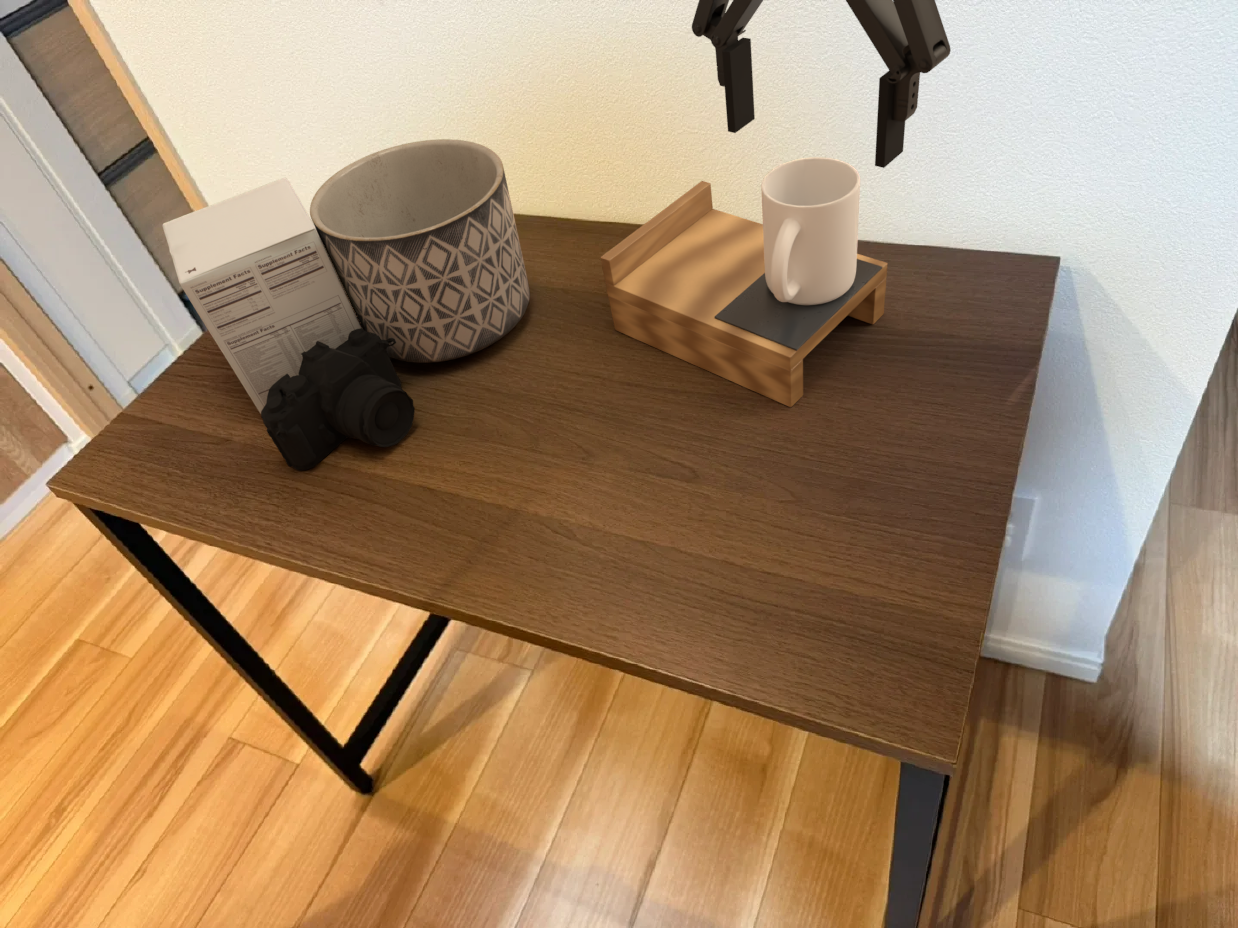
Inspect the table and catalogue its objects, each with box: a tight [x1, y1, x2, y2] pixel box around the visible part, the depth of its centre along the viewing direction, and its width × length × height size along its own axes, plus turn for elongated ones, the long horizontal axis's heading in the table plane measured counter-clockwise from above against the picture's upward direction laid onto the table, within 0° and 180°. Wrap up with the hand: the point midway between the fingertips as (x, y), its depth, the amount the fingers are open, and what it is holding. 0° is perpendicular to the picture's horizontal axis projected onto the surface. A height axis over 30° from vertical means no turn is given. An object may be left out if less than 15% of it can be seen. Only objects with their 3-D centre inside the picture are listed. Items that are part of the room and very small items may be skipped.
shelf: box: [600, 180, 888, 408], centre depth 86 cm, size 22×16×9 cm
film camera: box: [260, 327, 416, 472], centre depth 83 cm, size 15×10×9 cm, turn 144°
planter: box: [309, 138, 531, 364], centre depth 91 cm, size 19×19×16 cm
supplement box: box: [162, 177, 362, 415], centre depth 89 cm, size 13×13×18 cm
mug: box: [760, 156, 861, 305], centre depth 77 cm, size 12×8×10 cm
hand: (811, 141), depth 69 cm, fingers open, 13 cm apart
